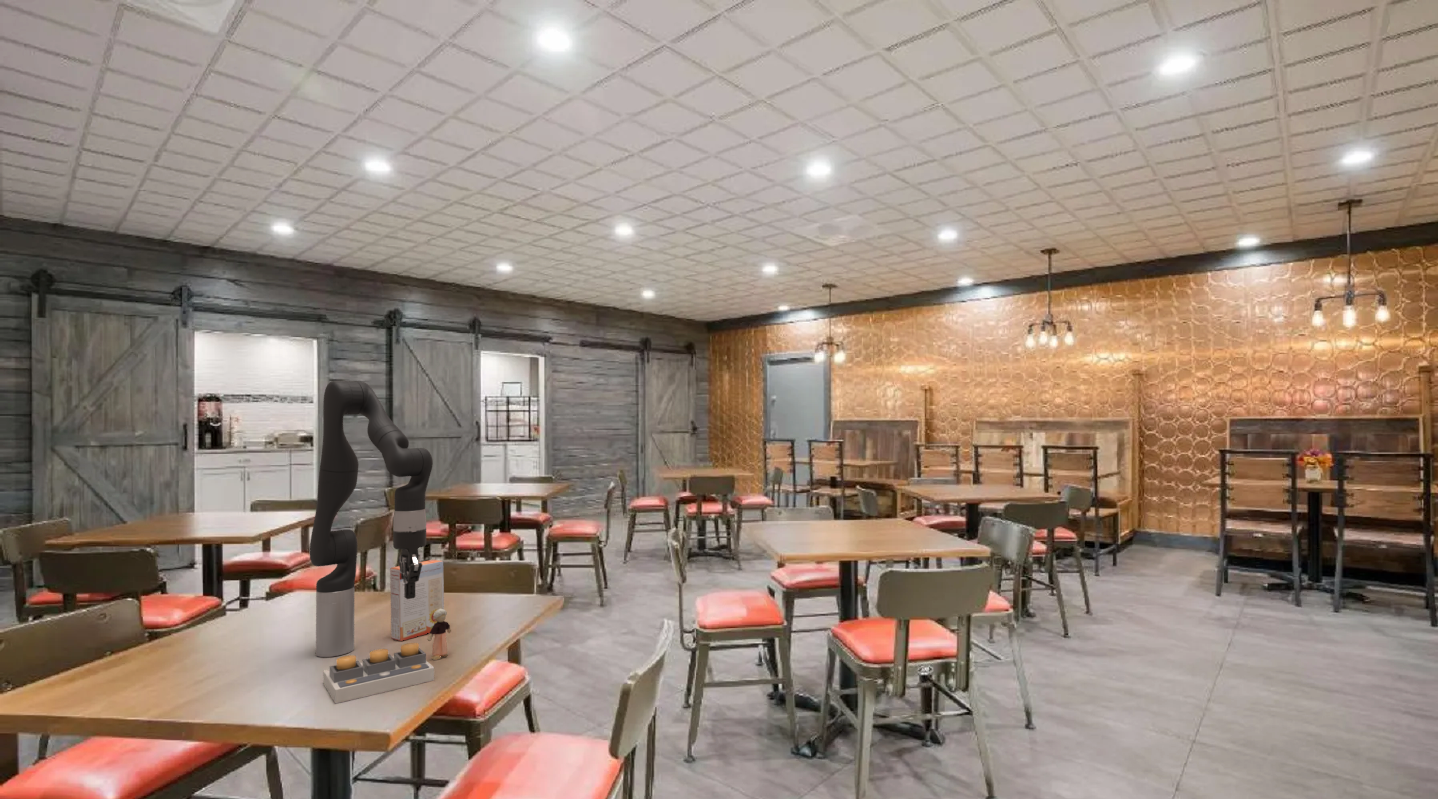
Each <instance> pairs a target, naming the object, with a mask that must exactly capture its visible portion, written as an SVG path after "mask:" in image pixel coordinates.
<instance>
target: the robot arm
mask: <svg viewBox="0 0 1438 799" xmlns="http://www.w3.org/2000/svg"><path fill="white" fill-rule="evenodd" d="M322 404H323V406H322V409H323V412H322V413H323V414H322V417H323V419H322V422H323V424H322V425H323V426H322V428H323V430H322V432H323V434H322V435H323V436H322V448H321V455H320V457H321V458H320V462H319V463H320V464H319V471H318V472H319V474H318V486H317V498H316V499H317V500H316V509H315V515H314V520H313V521H314V522H313V525H312V531H311V536H310V541H309V542H310V543H309V559H310V563H311V564H312V565H313V566H315V567H326V566H334V565H336V567H335V568H334V569H333V570H332V571H330V572H329V573H327V574H326V575H324V576H323V577H321V578H319V579H318V580H317V581H316V584H315V586H316V588H315V590H316V593H315V596H316V597H315V601H316V602H315V606H316V607H315V656H316V657H321V658H330V657H331V658H332V657H338V656H341V655H342V656H343V655H346V654H348V653H351V652H353V651H354V649H355V581H356V576H357V558H358V538H357V535H356V533H355V531H354V530H352V529H349V528H345V529H337V530H336V529H335V530H332V527H333V524H334V520H335V518H336V516H337V514H338V513H339V512H340V510H341V509H342V508H343V505H345V503H346V502H347V501H348V499H349V498H350V497H351V496H352V494H353V493H354V491H355V489H356V486H357V484H358V483H357V482H358V475H359V459H358V457H357V455H356V453H355V451H354V449H353V448H352V446H351V444H350V443H349V441H348V440H347V437H346V434H345V432H344V415H345V416H347V415H348V416H349V415H352V416H354V415H363V417H365V418H367V420H368V423H367V428H366V429H367V430H366V431H367V436H368V438H369V440H370V442H371V443H372V444H373V445H374V446H375V447H376V449H377V450H378V451H379V452H380V454H381V456H382V459H383V461H384V463H385V468H386V470H387V472H388V473H390V474H391V475H392V476H394V477H397V478H404V477H405V478H406V477H410V479H409V481H408V483H407V484H405V485H402V486H399V487H397V488H396V489H395V491H394V513H393V519H392V520H393V525H392V527H393V529H392V530H393V532H392V533H393V534H392V535H393V538H392V540H393V541H392V544H393V546H392V547H393V548H394V549H395V550H401V554H400V555H399V557H398V564H399V565H398V566H400V572H401V578H402V579H403V582H404V597H405V598H406V599H411V598H415V583H416V582H417V581H418V580H419V576H420V572H421V568H422V563H419V562H421V554H420V553H419V548H424V547H425V546H426V545H427V514H426V491H427V487H428V483H429V480H430V477H431V474H432V469H433V460H434V459H433V457H432V454H431V452H430V451H429V450H428V449H426V448H424V447H409V444H410V442H409V440H408V437H407V435H405V433H403V431H402V430H400V428H399V427H398V426H397V425H396V424H395V423H394V422H393V420H391V418H390V416H389V415H388V413H387V411H386V410H385V408H384V406H383V405H382V403H381V402H380V400H379V398H378V396H377V394H376V393H375V390H374V389H373V388H372V387H371V386H370V385H369V384H368V383H366V382H364V381H357V380H353V381H352V380H332V381H331V380H330V381H329V383H327V385H326V387H325V390H324V394H323V403H322Z"/></svg>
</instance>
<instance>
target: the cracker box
mask: <svg viewBox="0 0 1438 799" xmlns="http://www.w3.org/2000/svg"><path fill="white" fill-rule="evenodd" d="M419 563H422V568H421V572H420V576H419V580H418V581H417V582H416V583H415V598H411V599H406V598H405V597H404V582H403V579H402V578H401V572H400V566H399V565H398V566H393V567H389V568H390V569H389V570H390V571H389V572H390V575H389V576H390V581H389V582H390V584H389V585H390V639H393V640H396V641H398V642H403V640H404V641H406V640H411V639H414V638H417V636H418V637H421V636H424V635H427V633H428V634H430V631H431V629H432V627H433V626H434V624H435V623H437V621H436V619H435V618H434V613H435V611H437V610H438V609H444V610H445V591H444V590H445V588H444V586H445V584H444V578H445V577H444V561H443V560H439V559H430V560H425V561H424V560H423V561H420V562H419Z"/></svg>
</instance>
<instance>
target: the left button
mask: <svg viewBox="0 0 1438 799" xmlns="http://www.w3.org/2000/svg"><path fill="white" fill-rule="evenodd" d="M356 661H357V656H356V655H353V654H352V655H351V654H350V655H344V656H343V655H342V656H340V657H338V658H337V659H336V665H337V669H338V670H345V669H350V668H353V667H355V666H356Z"/></svg>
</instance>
